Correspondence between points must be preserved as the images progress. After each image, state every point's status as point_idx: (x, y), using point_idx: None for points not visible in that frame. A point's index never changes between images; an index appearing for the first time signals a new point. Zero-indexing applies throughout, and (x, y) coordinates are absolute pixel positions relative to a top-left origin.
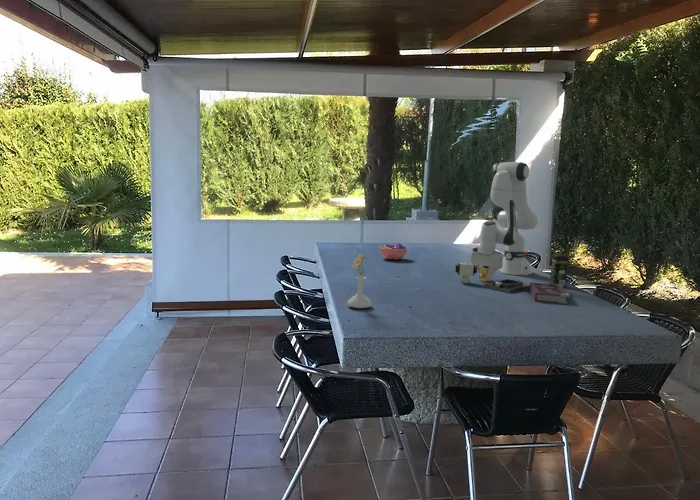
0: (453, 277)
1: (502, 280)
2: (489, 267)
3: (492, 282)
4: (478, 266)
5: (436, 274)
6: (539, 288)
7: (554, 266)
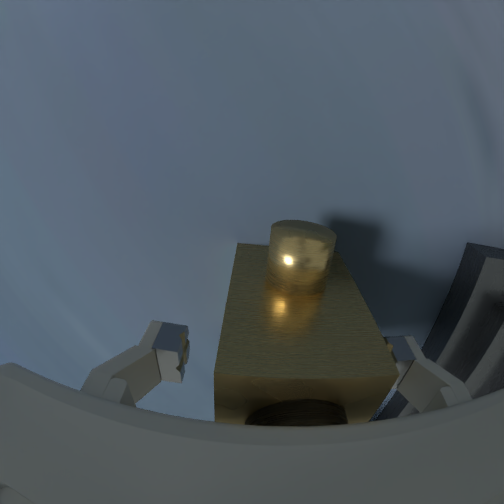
0: (72, 359)
1: (471, 382)
2: (355, 406)
3: (406, 406)
4: (122, 380)
5: (3, 344)
6: None
7: None
